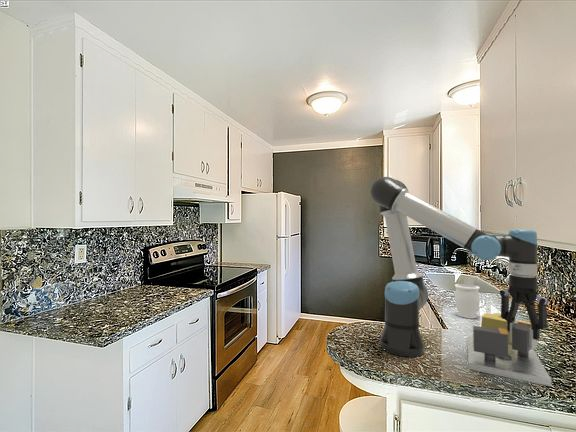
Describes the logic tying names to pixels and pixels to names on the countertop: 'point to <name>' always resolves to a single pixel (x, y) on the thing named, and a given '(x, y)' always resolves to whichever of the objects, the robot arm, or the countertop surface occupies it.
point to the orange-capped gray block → (521, 338)
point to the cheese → (495, 323)
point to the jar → (467, 300)
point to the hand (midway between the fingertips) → (522, 344)
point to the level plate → (510, 365)
